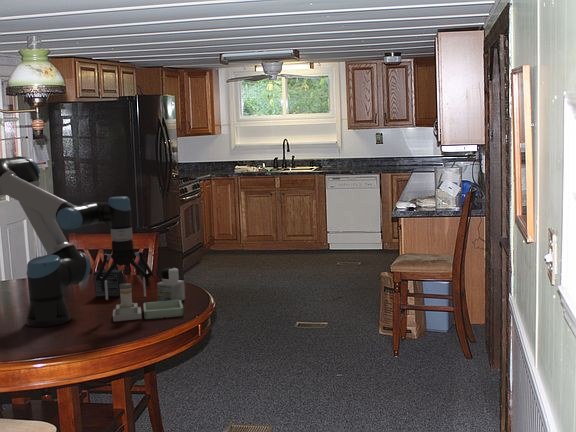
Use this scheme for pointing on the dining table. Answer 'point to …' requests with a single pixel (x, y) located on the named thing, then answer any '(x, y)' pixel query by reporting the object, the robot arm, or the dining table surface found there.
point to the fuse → (125, 295)
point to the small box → (109, 284)
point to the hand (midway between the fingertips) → (126, 297)
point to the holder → (127, 313)
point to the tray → (163, 309)
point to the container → (170, 286)
